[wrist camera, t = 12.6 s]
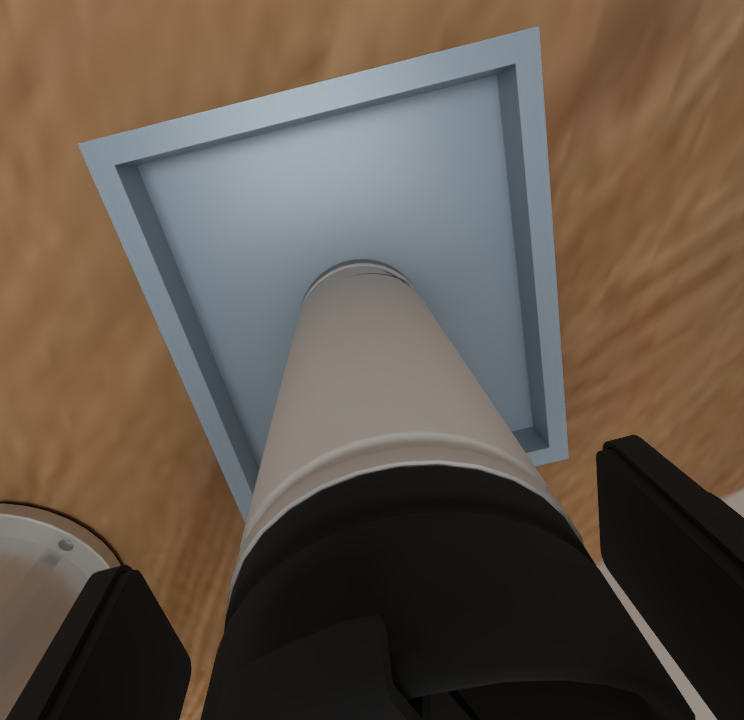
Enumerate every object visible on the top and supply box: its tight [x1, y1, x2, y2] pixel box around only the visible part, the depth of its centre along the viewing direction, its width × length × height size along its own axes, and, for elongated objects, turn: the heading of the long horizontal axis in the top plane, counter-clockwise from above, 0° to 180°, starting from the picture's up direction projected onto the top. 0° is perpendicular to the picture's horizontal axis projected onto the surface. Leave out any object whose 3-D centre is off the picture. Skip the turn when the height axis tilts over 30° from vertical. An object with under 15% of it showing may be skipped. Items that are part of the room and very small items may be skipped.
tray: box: [78, 26, 569, 524], centre depth 23 cm, size 20×18×3 cm
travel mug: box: [201, 259, 695, 720], centre depth 14 cm, size 6×7×20 cm
